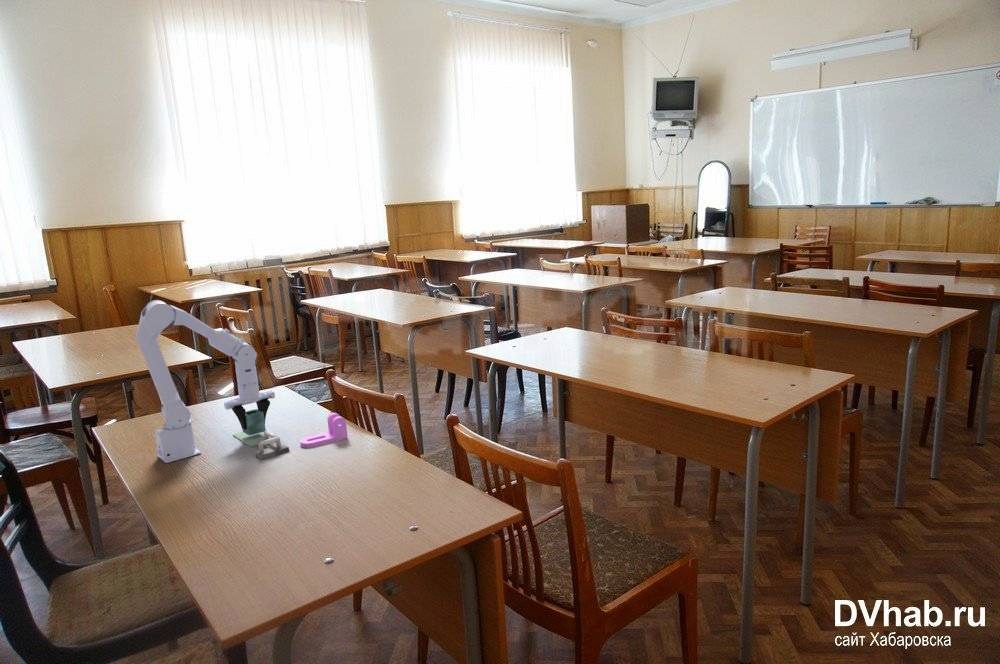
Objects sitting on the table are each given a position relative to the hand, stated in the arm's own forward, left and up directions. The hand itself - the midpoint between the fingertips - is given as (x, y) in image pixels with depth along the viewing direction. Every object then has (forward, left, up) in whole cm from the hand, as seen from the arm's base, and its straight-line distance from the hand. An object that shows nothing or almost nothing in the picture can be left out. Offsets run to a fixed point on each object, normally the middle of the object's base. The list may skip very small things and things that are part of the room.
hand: (253, 426), depth 201 cm
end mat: (0, 0, -3) cm, 3 cm away
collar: (0, 0, -2) cm, 2 cm away
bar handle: (-2, -13, -4) cm, 14 cm away
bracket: (+12, -19, -4) cm, 23 cm away
